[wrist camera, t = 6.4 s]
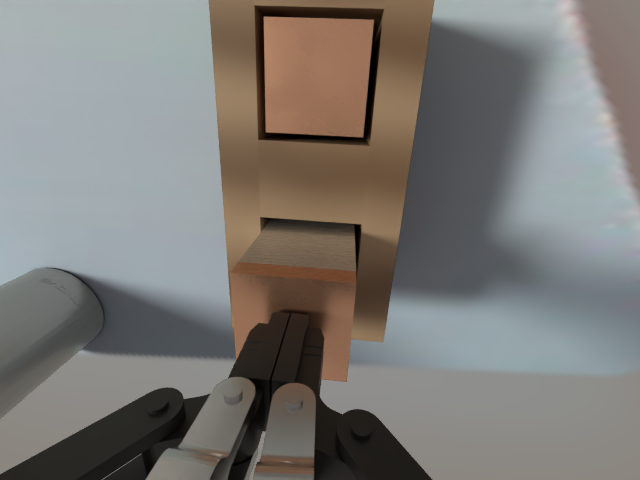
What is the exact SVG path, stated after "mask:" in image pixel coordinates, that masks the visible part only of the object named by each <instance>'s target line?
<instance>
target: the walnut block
mask: <svg viewBox="0 0 640 480" xmlns="http://www.w3.org/2000/svg"><path fill="white" fill-rule="evenodd" d="M433 6H434V0H209V9H210V23H211V37H212V51H213V65H214V79H215V93H216V107H217V121H218V135H219V149H220V163H221V177H222V191H223V205H224V219H225V233H226V247H227V261H228V275H229V289H230V303H231V317H232V328H234V324H233V309H232V295H231V280H230V272H231V271H232V269H233V268H234V267H235V265H236V264H237V263H238V262H239V260H240V259H241V258H242V256H243V255H244V254H245V252H246V251H247V250H248V248H249V247H250V246H251V245H252V243H253V242H254V241H255V239H256V238H257V237H258V235H259V234H260V233H261V232H262V230H263V229H264V228H265V226H266V225H267V224H268V222H269V221H270V220H271V218H280V219H294V220H308V221H322V222H336V223H350V224H355V255H356V281H357V284H356V294H355V304H354V314H353V324H352V334H351V339H355V340H365V341H376V342H383V341H384V334H385V328H386V321H387V314H388V307H389V301H390V294H391V287H392V281H393V274H394V267H395V261H396V254H397V247H398V241H399V234H400V227H401V220H402V214H403V207H404V200H405V194H406V187H407V180H408V174H409V167H410V160H411V154H412V147H413V140H414V133H415V127H416V120H417V113H418V107H419V100H420V93H421V87H422V80H423V73H424V67H425V60H426V53H427V46H428V40H429V33H430V26H431V20H432V13H433ZM264 17H294V18H329V19H364V20H374V25H373V36H372V47H371V58H370V68H369V79H368V90H367V101H366V112H365V123H364V134H363V137H347V136H328V135H309V134H290V133H271V132H266V114H265V59H264Z"/></svg>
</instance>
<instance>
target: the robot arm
mask: <svg viewBox="0 0 640 480" xmlns="http://www.w3.org/2000/svg"><path fill="white" fill-rule="evenodd" d="M103 321H104V316H103V310H102V307H101V305H100V302H99V301H98V299H97V298H96V296H95V294H94V293H93V292H92V291H91V290H90V289H89V288H88V286H86V285H85V284H84V283H83V282H82V281H80V280H79V279H77V278H76V277H74V276H72V275H71V274H68V273H66V272H63V271H61V270H57V269H52V268H40V269H35V270H33V271H30V272H28V273H26V274H24V275H22V276H20V277H18V278H16V279H14V280H12V281H9V282H7V283H5V284H3V285H1V286H0V419H1V418H2V417H4V416H5V415H6V414H7V413H8V412H9V411H10V410H11V409H13V408H14V407H15V406H16V405H17V404H18V403H20V402H21V401H22V400H23V399H24V398H25V397H26V396H28V395H29V394H30V393H31V392H32V391H33V390H35V389H36V388H37V387H38V386H39V385H40V384H42V383H43V382H44V381H45V380H46V379H47V378H48V377H50V376H51V375H52V374H53V373H54V372H55V371H57V370H58V369H59V368H60V367H61V366H62V365H64V364H65V363H66V362H67V361H68V360H70V359H71V358H72V357H73V356H74V355H75V354H77V353H78V352H79V351H80V350H81V349H82V348H83V347H85V346H86V345H87V344H88V343H89V342H90V341H91V340H93V339H94V338H95V337H96V336H97V335H98V334H99V333H100V331H101V329H102V327H103ZM323 353H324V336H323V333H322V331H321V329H319V328H309V315H304V314H293V313H292V314H291V313H282V312H273V313H272V315H271V318H270V320H269V323H268V324H265V323H258V324H257V325H256V326H255V327H254V328H253V329H251V330H250V332H249V334H248V336H247V339H246V342H245V343H244V345H243V347H242V350H241V351H240V354H239V356H238V358H237V360H236V362H235V364H234V366H233V369H232V371H231V373H230V375H229V377H228V379H225V380H223V381H222V382H220V383H219V384H218V385H216V387H215V388H214V389H213V391H212V392H211V393H210V394H208V395H205V396H200V397H195V398H189V399H183V396H182V393H181V392H179V391H178V390H177V389H174V388H161V389H157V390H154V391H152V392H150V393H148V394H146V395H145V396H143V397H141V398H139V399H137V400H135V401H133V402H132V403H130V404H128V405H126V406H124V407H122V408H121V409H119V410H117V411H115V412H113V413H111V414H110V415H108V416H106V417H104V418H102V419H101V420H99V421H97V422H95V423H93V424H91V425H90V426H88V427H86V428H84V429H82V430H80V431H79V432H77V433H75V434H73V435H71V436H70V437H68V438H66V439H64V440H62V441H60V442H59V443H57V444H55V445H53V446H51V447H49V448H48V449H46V450H44V451H42V452H40V453H38V454H37V455H35V456H33V457H31V458H30V459H28V460H26V461H24V462H22V463H20V464H19V465H17V466H15V467H13V468H11V469H9V470H7V471H6V472H4V473H2V474H0V480H102V479H103V478H105V477H106V476H108V475H109V474H111V473H112V472H114V471H115V470H117V469H118V468H120V467H121V466H123V465H124V464H126V463H127V462H129V461H130V460H132V459H133V458H135V457H136V456H138V455H139V454H141V455H140V456H138V457H136V458H135V459H134V460H132V461H131V462H129V463H127V464H126V465H124V466H123V467H121V468H120V469H119V470H117V471H115V472H114V473H112V474H111V475H109V476H108V477H106V478H105V479H103V480H249V477H250V475H251V472H252V469H253V466H254V463H255V460H256V458H257V454H258V444H259V441H260V438H261V434H262V431H266V433H265V438H264V443H263V449H262V455H261V459H260V462H258V463H257V464H256V468H255V472H254V476H253V480H432V479H431V478H430V477H429V476H428V474H427V473H426V472H425V471H424V470H423V469H422V468H421V466H420V465H419V464H418V463H417V462H416V461H415V460H414V458H413V457H411V455H410V454H409V453H408V452H407V451H406V450H405V448H404V447H403V446H402V445H401V444H400V443H399V442H398V441H397V439H396V438H395V437H394V436H393V435H392V434H391V433H390V431H389V430H388V429H387V428H386V427H385V426H384V425H383V423H382V422H381V421H380V420H379V419H378V418H377V417H376V416H375V415H373V414H371V413H370V412H368V411H365V410H359V409H355V410H350V411H348V412H346V413H344V414H343V415H342V414H340V413H338V412H336V411H334V410H332V409H330V408H329V407H327V406H326V405H325V404H324V403H323V401H322V400H321V398H320V396H319V395H320V386H321V377H322V368H323Z"/></svg>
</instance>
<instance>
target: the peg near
mask: <svg viewBox="0 0 640 480" xmlns="http://www.w3.org/2000/svg"><path fill="white" fill-rule="evenodd" d="M230 280H231V295H232V309H233V324H234V338H235V352H236V360H237V358H238V356H239V354H240V351H241V350H242V347H243V345H244V343H245V342H246V339H247V336H248V334H249V332H250V330H251V329H253V328H254V327H255V326H256V325H257V324H258V323H265V324H268V323H269V320H270V318H271V315H272V313H273V312H282V313H291V314H292V313H293V314H304V315H309V328H319V329H321V331H322V333H323V336H324V353H323V368H322V377H321V379H326V380H335V381H344V382H347V373H348V363H349V353H350V344H351V334H352V324H353V314H354V304H355V294H356V284H357V281H356V255H355V230H354V224H350V223H336V222H322V221H308V220H294V219H280V218H271V220H270V221H269V222H268V224H267V225H266V226H265V228H264V229H263V230H262V232H261V233H260V234H259V235H258V237H257V238H256V239H255V241H254V242H253V243H252V245H251V246H250V247H249V248H248V250H247V251H246V252H245V254H244V255H243V256H242V258H241V259H240V260H239V262H238V263H237V264H236V265H235V267H234V268H233V269H232V271H231V272H230Z"/></svg>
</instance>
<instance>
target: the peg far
mask: <svg viewBox="0 0 640 480" xmlns="http://www.w3.org/2000/svg"><path fill="white" fill-rule="evenodd" d="M373 25H374V20H364V19H329V18H294V17H264V59H265V114H266V132H271V133H290V134H309V135H328V136H347V137H363V134H364V123H365V112H366V101H367V90H368V79H369V68H370V57H371V47H372V36H373Z"/></svg>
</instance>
